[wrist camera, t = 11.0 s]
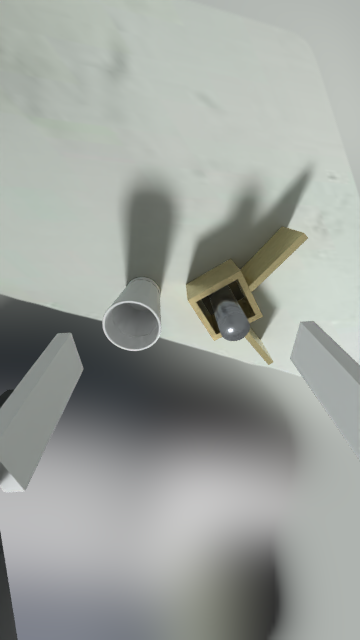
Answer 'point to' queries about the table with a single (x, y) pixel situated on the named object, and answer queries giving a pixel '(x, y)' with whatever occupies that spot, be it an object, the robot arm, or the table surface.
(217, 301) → the pin
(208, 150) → the table surface
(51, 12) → the table surface
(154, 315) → the cup
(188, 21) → the table surface
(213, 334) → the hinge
